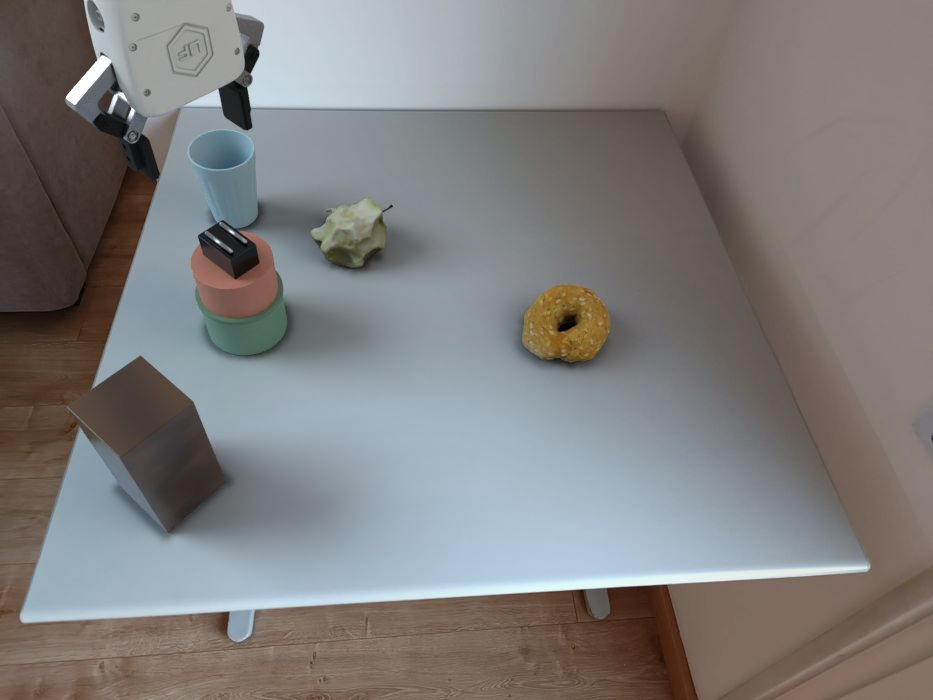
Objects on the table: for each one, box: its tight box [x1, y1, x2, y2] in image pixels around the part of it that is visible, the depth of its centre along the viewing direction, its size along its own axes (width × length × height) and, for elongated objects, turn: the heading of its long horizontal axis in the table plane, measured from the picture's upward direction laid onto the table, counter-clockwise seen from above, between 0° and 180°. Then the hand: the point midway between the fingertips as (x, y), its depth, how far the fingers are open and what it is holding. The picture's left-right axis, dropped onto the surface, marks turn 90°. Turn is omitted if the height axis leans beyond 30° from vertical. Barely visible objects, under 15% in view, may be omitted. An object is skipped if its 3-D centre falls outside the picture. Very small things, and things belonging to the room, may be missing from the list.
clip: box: [197, 220, 260, 280], centre depth 72 cm, size 3×5×3 cm, turn 51°
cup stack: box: [189, 230, 288, 356], centre depth 78 cm, size 9×9×11 cm
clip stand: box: [66, 355, 227, 533], centre depth 64 cm, size 7×7×15 cm
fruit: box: [310, 197, 394, 269], centre depth 88 cm, size 9×9×8 cm
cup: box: [186, 128, 259, 230], centre depth 88 cm, size 8×8×10 cm
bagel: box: [521, 283, 611, 363], centre depth 84 cm, size 10×11×5 cm
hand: (194, 146), depth 62 cm, fingers open, 9 cm apart
